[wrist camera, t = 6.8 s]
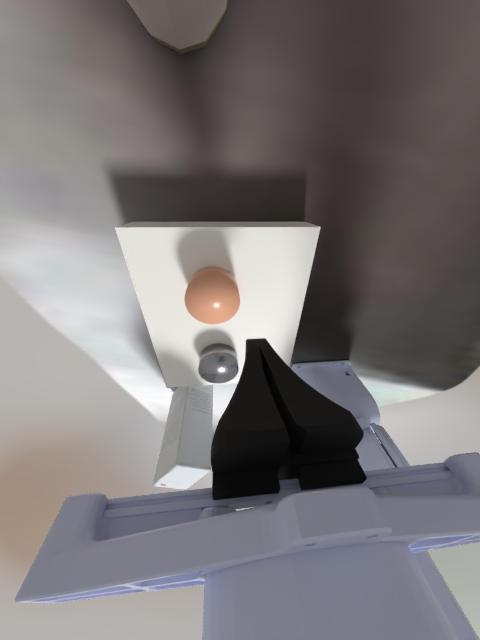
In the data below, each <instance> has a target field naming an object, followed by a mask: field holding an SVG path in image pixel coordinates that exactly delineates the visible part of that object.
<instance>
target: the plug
mask: <svg viewBox="0 0 480 640" xmlns="http://www.w3.org/2000/svg"><path fill="white" fill-rule="evenodd" d="M238 371H239V367H238V358H237V353H236V351H235V349H234V348H232V347H231V346H229V345H227V344H222V343H216V344H211V345H209V346H207V347H205V348H204V349H203V350H202V352H201V354H200V360H199V368H198V372H199V375H200V376H201V378H202V379H204V380H205V381H207V382H210V383H217V384H218V383H225V382H228V381H230V380H232V379H234V378H235V377H236V375H237V374H238Z"/></svg>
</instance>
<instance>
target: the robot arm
mask: <svg viewBox="0 0 480 640" xmlns="http://www.w3.org/2000/svg"><path fill="white" fill-rule="evenodd" d="M350 365H351V362H350V361H349V360H344V361H328V362H312V363H296V364H293V365H292V368H290V367H289V366H288V365H287V364H286V363H285V362H284V361H283V360H282V359H281V357H280V356H279V355H278V354H277V353H276V352H275V350H274V349H273V348H272V346H271V345H270V344H269V342H268V341H267V339H265V338H259V339H247V340H246V351H245V362H244V366H243V370H242V373H241V376H240V379H239V382H238V385H237V387H236V389H235V392H234V394H233V396H232V398H231V400H230V402H229V404H228V406H227V408H226V410H225V412H224V413H223V415H222V417H221V419H220V420H219V422H218V425H217V428H216V431H215V434H214V437H213V441H212V446H211V466H212V472H213V485H212V488H205V489H196V490H187V491H178V492H168V493H160V494H150V495H141V496H133V497H123V498H113V499H107V497H106V496H105V495H104V494H101V493H89V494H80V495H70V496H68V497H67V498H66V500H65V501H64V503H63V505H62V507H61V509H60V511H59V513H58V515H57V517H56V519H55V521H54V523H53V525H52V527H51V529H50V531H49V533H48V535H47V537H46V539H45V541H44V543H43V545H42V547H41V549H40V550H39V553H38V555H37V556H36V558H35V560H34V563H33V564H32V566H31V568H30V570H29V572H28V574H27V576H26V578H25V580H24V582H23V584H22V586H21V588H20V590H19V592H18V594H17V596H16V598H15V601H16V602H23V603H62V602H68V601H76V600H83V599H90V598H98V597H105V596H114V595H122V594H130V593H139V592H147V591H155V590H163V589H172V588H181V587H189V586H197V585H205V587H204V612H203V637H202V638H203V639H202V640H480V639H479V638H478V636H477V634H476V633H475V631H474V629H473V628H472V626H471V624H470V622H469V621H468V619H467V617H466V616H465V614H464V612H463V611H462V609H461V607H460V606H459V604H458V602H457V601H456V599H455V597H454V595H453V594H452V592H451V590H450V589H449V587H448V586H447V584H446V582H445V580H444V579H443V577H442V575H441V574H440V572H439V570H438V568H437V567H436V565H435V563H434V562H433V560H432V558H431V557H430V555H429V553H428V552H427V551H428V550H434V549H440V548H446V547H452V546H458V545H463V544H469V543H476V542H480V454H479V453H476V452H475V453H466V454H458V455H454V456H451V457H449V458H448V459H446V460H445V461H444V463H435V464H425V465H416V466H410V465H409V464H408V462H407V461H406V459H405V458H404V456H403V455H402V454H401V452H400V451H399V449H398V448H397V446H396V445H395V443H394V442H393V440H392V439H391V438H390V436H389V435H388V433H387V432H386V431H385V429H384V428H383V427H382V426H380V425H379V423H380V413H379V409H378V406H377V404H376V402H375V400H374V398H373V397H372V395H371V394H370V393H369V391H368V390H367V389H366V387H365V386H364V385H363V383H362V382H361V381H360V379H359V378H358V377H357V375H356V374H355V373H354V371H353V370H352V369H351V367H350ZM373 431H374V432H375V434H376V436H377V438H378V439H379V441H380V442H381V444H380V442H379V441H378V439H377V438H376V436H375V434H374V433H373ZM249 507H254V508H249ZM241 508H249V509H245V510H240V511H236V510H235V509H241Z"/></svg>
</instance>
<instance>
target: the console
mask: <svg viewBox="0 0 480 640" xmlns="http://www.w3.org/2000/svg"><path fill="white" fill-rule="evenodd" d="M320 228H321V227H319V226H316V225H313V224H310V223H307V222H130V223H127V224H124V225H121V226H118V227H115V229H116V232H117V235H118V239H119V242H120V245H121V248H122V251H123V254H124V257H125V260H126V263H127V266H128V269H129V273H130V276H131V279H132V282H133V285H134V288H135V291H136V294H137V297H138V300H139V303H140V306H141V310H142V313H143V316H144V319H145V322H146V325H147V328H148V331H149V334H150V337H151V340H152V344H153V347H154V350H155V353H156V356H157V359H158V362H159V365H160V368H161V371H162V374H163V378H164V381H165V384H166V387H167V388H174V387H188V386H203V385H217V383H210V382H207V381H205V380H204V379H202V378H201V376H200V375H199V372H198V368H199V360H200V354H201V352H202V350H203V349H204V348H205V347H207V346H209V345H211V344H216V343H222V344H227V345H229V346H231V347H232V348H234V349H235V351H236V353H237V358H238V367H239V371H238V374H237V375H236V377H235V378H234V379H232V380H230V381H228V382H225V383H218V384H232V383H238V382H239V379H240V376H241V373H242V370H243V366H244V362H245V351H246V340H247V339H259V338H265V339H267V341H268V342H269V344H270V345H271V346H272V348H273V349H274V350H275V352H276V353H277V354H278V355H279V356H280V357H281V359H282V360H283V361H284V362H285V363H286V364H287V365H288V366H290V362H291V357H292V353H293V348H294V344H295V339H296V335H297V330H298V326H299V322H300V317H301V313H302V308H303V304H304V299H305V295H306V290H307V286H308V281H309V277H310V272H311V268H312V263H313V259H314V254H315V250H316V245H317V241H318V237H319V232H320ZM205 267H219V268H222V269H225V270H226V271H228V272H229V273H230V274H231V275H232V276H233V277H234V278H235V280H236V282H237V285H238V290H239V295H240V306H239V309H238V311H237V313H236V314H235V315H234V316H233V317H232V318H231V319H230V320H228V321H226V322H224V323H220V324H206V323H203V322H200V321H198V320H197V319H195V318H194V317H193V316H192V315H191V314H190V313H189V312H188V310H187V308H186V306H185V300H184V298H185V292H186V289H187V286H188V283H189V281H190V279H191V277H192V276H193V274H194V273H195V272H197V271H198V270H200V269H202V268H205Z"/></svg>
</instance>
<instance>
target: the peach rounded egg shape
mask: <svg viewBox="0 0 480 640" xmlns="http://www.w3.org/2000/svg"><path fill="white" fill-rule="evenodd" d="M184 300H185V306H186V308H187V310H188V312H189V313H190V314H191V315H192V316H193V317H194V318H195V319H197V320H198V321H200V322H203V323H206V324H220V323H224V322H226V321H228V320H230V319H231V318H232V317H233V316H234V315H235V314H236V313H237V311H238V309H239V306H240V295H239V290H238V285H237V282H236V280H235V278H234V277H233V276H232V275H231V274H230V273H229V272H228V271H226V270H225V269H222V268H219V267H205V268H202V269H200V270H198V271H197V272H195V273H194V274H193V276H192V277H191V279H190V281H189V283H188V286H187V289H186V292H185V298H184Z"/></svg>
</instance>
